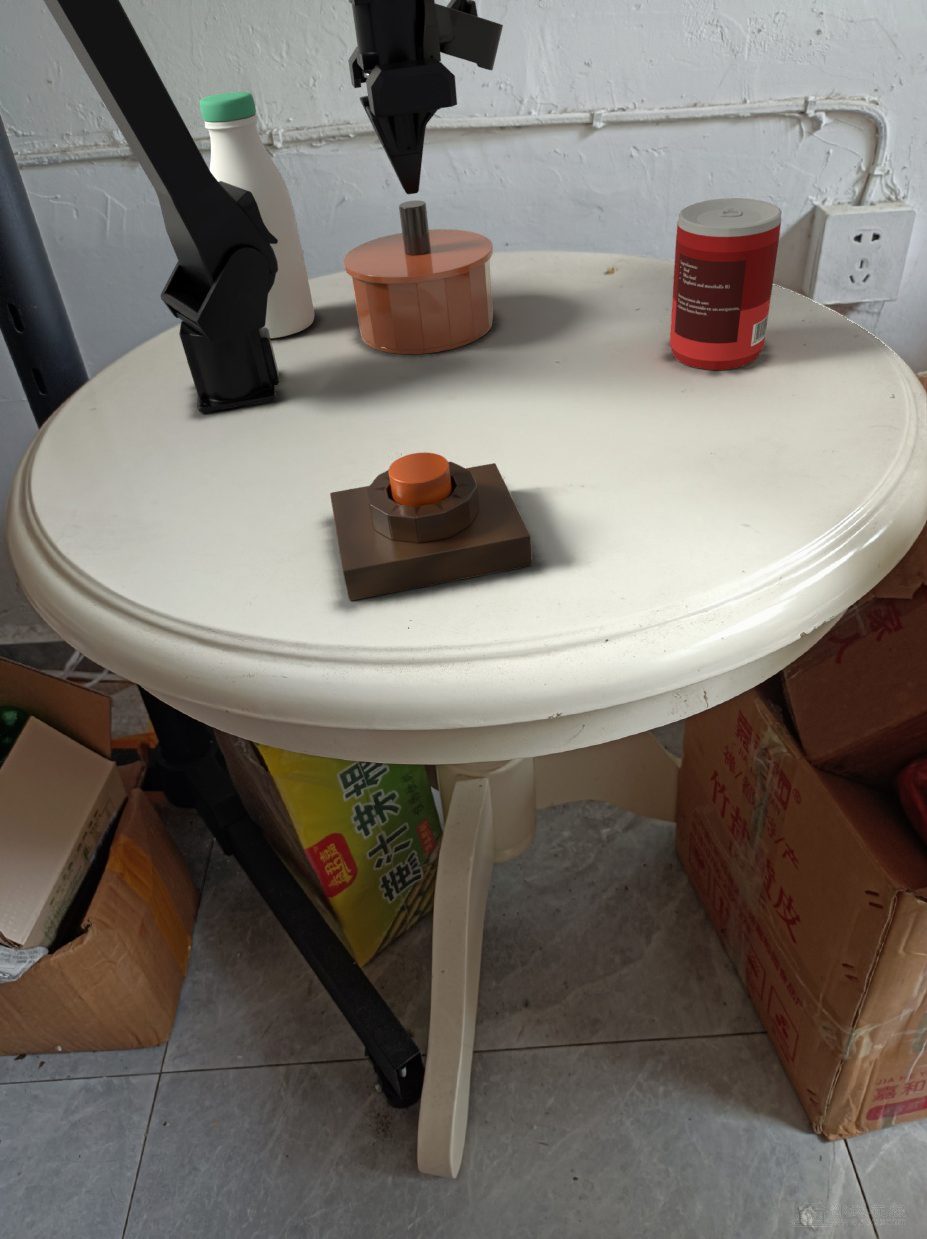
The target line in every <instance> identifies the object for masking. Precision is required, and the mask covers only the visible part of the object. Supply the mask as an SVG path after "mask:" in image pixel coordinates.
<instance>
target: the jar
mask: <svg viewBox="0 0 927 1239" xmlns="http://www.w3.org/2000/svg"><path fill="white" fill-rule="evenodd" d="M490 259H491V258H490ZM490 259H489V260H488V261H487V262H486V263H484V264H483V265H481V266H479V267H478V268H476V269H473V270H471V271H469V272H466V273H463V274H460V275H456V276H453V277H449V278H445V279H440V280H434V281H428V282H420V283H408V284H383V283H373V282H367V281H363V280H359V279H356V278H354V277H352V276H350V281H351V286H352V287H351V288H352V293H353V299H354V305H355V311H356V316H357V323H358V328H359V332H360V336H361V340H362V342H363V343H365V345H367V346H368V347H370V348H372V349H374V350H377V351H380V352H384V353H389V354H398V355H422V354H423V355H424V354H433V353H440V352H444V351H450V350H454V349H456V348H457V349H458V348H460V347H463V346H466V345H469V344H471V343H473V342H476V341H477V340H479V339H481V338H483V337H484V336H485V335H486V334H487V333H488V332H489V331H490V330H491V328H492V326H493V319H494V306H493V292H492V291H493V290H492V276H491V262H490Z"/></svg>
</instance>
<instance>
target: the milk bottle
mask: <svg viewBox="0 0 927 1239" xmlns="http://www.w3.org/2000/svg"><path fill="white" fill-rule="evenodd" d="M256 108H257V107H256V104H255V100H254V96H253V94H252V93H250V92H247V91H232V92H224V93H218V94H217V93H216V94H212V95H209V96H205V97H203V98H201V99H200V100H199V109H200V114H201V117H202V119H203V121H204V128H205V129H206V130H208V133H209V137H210V138H209V139H210V164H209V170H210V172H211V173H212V174H213V176H214V177H215V178H216V180H217V181H218V182H219V181H223V182H225V183H228V184H231V185H234V186H236V187H239V188H242V189H245V190H247V191H250V192H251V193H252V195H253V197H254V199H255V201H256V203H257V205H258V208H259V211H260V214H261V217H262V220H263V222H264V224H265V226H266V227H267V229H268V230H269V232H270V233H271V234H272V235H273V236H274V237H275V238H276V239H277V240H278V243H277V244H270V245H271V247H272V248H273V250H274V253H275V256H276V259H277V262H278V272H277V273H276V276H275V281H274V284H273V286H272V288H271V290H270V292H269V293H268V300H267V311H266V322H265V326H264V327H266V328H267V329H268V330H269V334H270V338H271V339H277V338H282V337H287V336H291V335H295V334H297V333H300V332H301V331H304V330H306V329H308V328H309V327H310V326H311V325H312V324H313V322H314V320H315V315H316V314H315V309H314V303H313V297H312V292H311V288H310V282H309V277H308V272H307V268H306V262H305V257H304V252H303V248H302V243H301V236H300V234H299V229H298V223H297V218H296V214H295V210H294V206H293V202H292V198H291V195H290V192H289V188H288V186H287V184H286V181H285V178H284V177H283V175H282V173H281V171H280V169H279V168H278V166H277V165H276V163H275V162H274V161H273V159H272V158H271V156H270V154H269V153H268V151H267V148H266V147H265V145H264V143H263V141H262V139H261V136H260V133H259V132H258V127H257V122H258V121H259V119H258V117H257V109H256ZM264 327H263V328H264Z"/></svg>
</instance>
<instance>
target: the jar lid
mask: <svg viewBox="0 0 927 1239" xmlns="http://www.w3.org/2000/svg"><path fill="white" fill-rule="evenodd" d="M398 211H399V219H400V228H401V232H397V233H394V234H389V235H386V236H381V237H378V238H375V239H372V240H369V241H366V242H364V243H362V244H359V245H357V246H355V247H354V248H352V249H351V250H349V251H348V252H347V253H346V254H345V255H344V257H343V268H344V271H345V272H346V274H348V275H349V276H350V277H351V276H352V277H354V278H356V279H359V280H363V281H367V282H373V283H383V284H408V283H420V282H428V281H434V280H440V279H445V278H449V277H453V276H456V275H460V274H463V273H466V272H469V271H471V270H473V269H476V268H478V267H479V266H481V265H483V264H484V263H486V262H487V261H488V260H489V259H491V258H492V257H493V254H494V245H493V242H492V240H491V239H489V238H488V237H487V236H485V235H483V234H481V233H478V232H473V231H469V230H463V229H449V228H447V229H445V228H441V229H440V228H439V229H438V228H437V229H429V228H430V227H429V218H428V210H427V202H426V201H423V200H408V201H404V202H401V203H400V204H399V205H398Z"/></svg>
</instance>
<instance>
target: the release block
mask: <svg viewBox="0 0 927 1239" xmlns="http://www.w3.org/2000/svg"><path fill="white" fill-rule="evenodd" d="M448 463H449V468H450V477H451V486H452V491H451V493H450V495H449V497H447V498H445V499H443V500H441V501H440V502H438V503H435V504H430V505H425V506H419V507H415V506H405V505H400V504H398V503H397V502H396V501H395V500H394V499H393V497H392V491H391V485H390V479H389V472H388V471H389V469H388V470H385V471H384V472H381V473H380V474H378V475H377V476H376V477H375V478H374V480H373V481H372V482H371V483H370V485H365V486H361V487H355V488H348V489H343V490H337V491H333V492H330V493H329V496H330V503H331V508H332V514H333V520H334V526H335V527H334V528H335V533H336V539H337V545H338V551H339V557H340V563H341V564H340V565H341V570H342V575H343V579H344V583H345V589H346V592H347V597H348V600H349V601H357V600H361V599H366V598H373V597H375V596H382V595H387V594H392V593H397V592H404V591H408V590H413V589H418V588H423V587H429V586H434V585H440V584H445V583H449V582H454V581H459V580H464V579H468V578H469V579H470V578H476V577H481V576H485V575H491V574H495V573H500V572H501V573H502V572H505V571H512V570H516V569H521V568H526V567H531V566H532V565H533V556H532V555H533V554H532V536H531V533H530V531H529V529H528V527H527V525H526V523H525V522H524V519H523V517H522V515H521V513H520V510H519V509H518V506H517V504H516V502H515V500H514V498H513V496H512V494H511V492H510V490H509V488H508V486H507V484H506V482H505V480H504V478H503V476H502V474H501V472H500V470H499V467H498V466H497V464H496V463H495V462H493V463H486V464H482V465H476V466H471V467H464V466H461V465H460V464H458V463H456V462H453V461H448Z"/></svg>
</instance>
